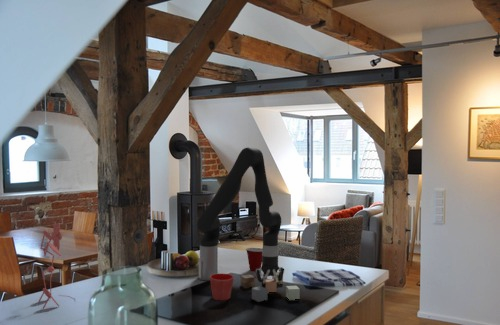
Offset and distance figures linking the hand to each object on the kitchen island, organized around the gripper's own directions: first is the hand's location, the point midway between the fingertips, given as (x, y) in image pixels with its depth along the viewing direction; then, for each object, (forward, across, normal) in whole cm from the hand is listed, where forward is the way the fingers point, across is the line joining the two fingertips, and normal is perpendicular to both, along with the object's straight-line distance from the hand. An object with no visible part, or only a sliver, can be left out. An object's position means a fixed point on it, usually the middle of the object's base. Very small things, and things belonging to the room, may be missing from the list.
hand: (269, 289), depth 225 cm
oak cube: (+1, -8, -12) cm, 14 cm away
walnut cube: (+1, +8, -10) cm, 13 cm away
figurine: (+1, +94, -6) cm, 94 cm away
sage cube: (+1, -7, +12) cm, 14 cm away
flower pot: (+1, +24, +4) cm, 24 cm away
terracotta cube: (+1, 0, 0) cm, 1 cm away
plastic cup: (+1, -4, -38) cm, 38 cm away
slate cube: (+1, +8, +10) cm, 13 cm away
